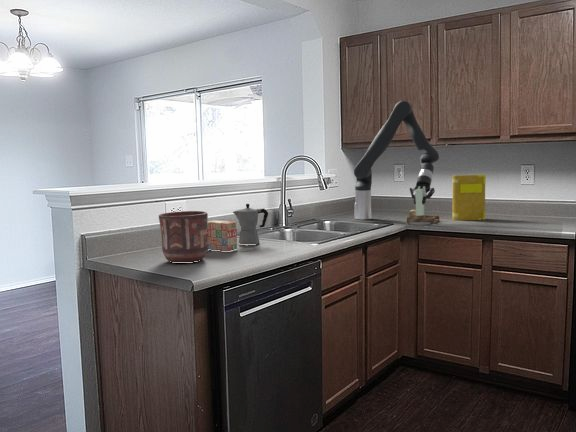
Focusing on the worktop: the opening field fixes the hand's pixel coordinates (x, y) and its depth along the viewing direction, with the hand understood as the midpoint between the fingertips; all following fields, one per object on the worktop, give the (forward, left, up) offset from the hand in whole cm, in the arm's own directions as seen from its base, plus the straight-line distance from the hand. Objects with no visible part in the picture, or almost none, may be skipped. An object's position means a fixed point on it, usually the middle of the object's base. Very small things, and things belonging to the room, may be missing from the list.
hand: (419, 203), depth 274 cm
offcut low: (-6, +13, -10) cm, 18 cm away
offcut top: (-6, +13, -8) cm, 16 cm away
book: (+20, +30, -12) cm, 38 cm away
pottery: (-55, -125, -12) cm, 137 cm away
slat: (0, +2, -6) cm, 7 cm away
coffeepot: (-52, -84, -12) cm, 100 cm away
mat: (0, +2, -11) cm, 12 cm away
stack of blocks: (-60, -101, -12) cm, 118 cm away
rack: (-1, +13, -11) cm, 17 cm away
